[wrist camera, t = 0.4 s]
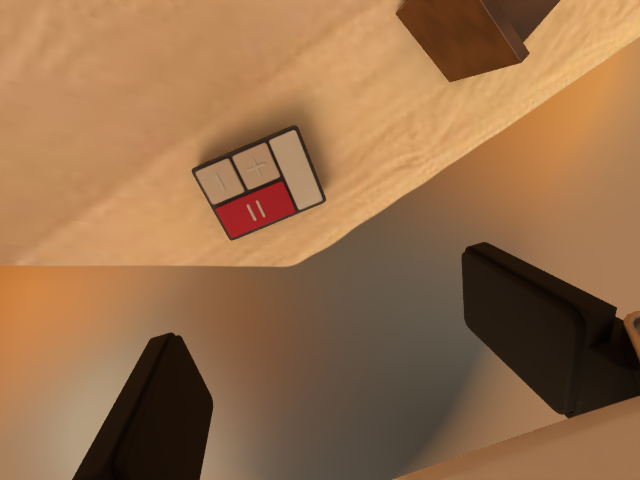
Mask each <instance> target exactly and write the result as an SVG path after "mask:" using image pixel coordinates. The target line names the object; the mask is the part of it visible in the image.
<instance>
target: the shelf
mask: <svg viewBox="0 0 640 480" xmlns="http://www.w3.org/2000/svg"><path fill="white" fill-rule="evenodd" d="M559 1H560V0H406V1H405V2H404V4H403V5H402V6H401V7H400V9H399V10H398V11H397V12H396V15H397V16H398V17H399V18H400V20H401V21H402V22H403V23H404V25H405V26H406V27H407V28H408V30H409V31H410V32H411V34H412V35H413V36H414V37H415V39H416V40H417V41H418V42H419V44H420V45H421V46H422V47H423V49H424V50H425V51H426V53H427V54H428V55H429V56H430V58H431V59H432V60H433V61H434V63H435V64H436V65H437V66H438V68H439V69H440V70H441V72H442V73H443V74H444V75H445V77H446V78H447V79H448V80H449V82H453V81H456V80H460V79H464V78H467V77H471V76H475V75H478V74H482V73H486V72H489V71H493V70H497V69H500V68H504V67H508V66H511V65H515V64H519V63H522V62H523V60H524V59H525V58H526V57H527V56H528V55H529V52H528V50H527V48H526V47H525V45H524V44H523V42H524V41H525V40H526V39H527V38H528V36H529V35H530V34H531V33H532V32H533V31H534V30H535V29H536V27H537V26H538V25H539V24H540V23H541V22H542V21H543V19H544V18H545V17H546V16H547V15H548V14H549V13H550V11H551V10H552V9H553V8H554V7H555V6H556V5H557V3H558V2H559Z"/></svg>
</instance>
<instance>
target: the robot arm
mask: <svg viewBox="0 0 640 480" xmlns="http://www.w3.org/2000/svg"><path fill="white" fill-rule="evenodd" d="M462 277H463V299H464V319H465V322H466V324H467V326H468V328H469V329H470V330H471V331H472V332H473V333H475V335H476V336H477V337H478V338H480V339H481V340H482V341H483V342H484V343H485V344H486V345H487V346H488V347H489V348H490V349H491V350H492V351H493V352H494V353H495V354H496V355H497V356H498V357H499V358H500V359H501V360H502V361H503V362H504V363H505V364H506V365H508V366H509V367H510V368H511V369H512V370H513V371H514V372H515V373H516V374H517V375H518V376H519V377H520V378H521V379H522V380H523V381H524V382H525V383H526V384H527V385H528V386H529V387H530V388H531V389H532V390H533V391H534V392H535V393H536V394H537V395H539V396H540V397H541V398H542V399H543V400H544V401H545V402H546V403H547V404H548V405H549V406H550V407H551V408H552V409H553V410H554V411H556V412H557V413H559V414H562V415H563V414H564V415H565V416H566V417H567V418H568V419H567V420H563V421H561V422H558V423H555V424H552V425H549V426H546V427H543V428H540V429H537V430H534V431H532V432H528V433H526V434H523V435H520V436H517V437H514V438H511V439H508V440H505V441H502V442H499V443H496V444H493V445H490V446H488V447H485V448H482V449H479V450H476V451H473V452H470V453H467V454H465V455H462V456H459V457H456V458H453V459H450V460H447V461H444V462H442V463H439V464H436V465H433V466H430V467H427V468H424V469H422V470H419V471H416V472H413V473H410V474H407V475H404V476H401V477H399V478H396V479H393V480H640V311H636V312H633V313H631V314H628V315H627V316H626V317H625V319H624V321H623V320H621V319H619V318H617V317H616V316H615V315H616V310H617V307H615V306H613V305H611V304H609V303H607V302H605V301H603V300H600V299H599V298H597V297H594V296H593V295H591V294H589V293H587V292H585V291H583V290H581V289H579V288H577V287H575V286H573V285H571V284H569V283H567V282H565V281H563V280H561V279H559V278H557V277H555V276H553V275H550V274H549V273H547V272H545V271H543V270H541V269H539V268H537V267H535V266H533V265H531V264H529V263H527V262H525V261H523V260H521V259H519V258H517V257H515V256H513V255H511V254H509V253H507V252H505V251H503V250H501V249H499V248H497V247H495V246H493V245H491V244H489V243H486V242H482V243H479V244H475V245H472V246H468V247H467V248H466V250H465V252H464V253H463V254H462ZM212 411H213V400H212V397H211V394H210V393H209V390H208V388H207V387H206V384H205V382H204V380H203V378H202V376H201V374H200V373H199V370H198V368H197V366H196V364H195V362H194V360H193V359H192V357H191V355H190V353H189V351H188V349H187V347H186V345H185V343H184V341H183V339H182V337H181V336H179V335H177V336H175V334H173V333H167V334H164V335H161V336H157V337H154V338H151V339H150V340H149V342H148V344H147V346H146V347H145V349H144V351H143V353H142V355H141V356H140V358H139V360H138V362H137V364H136V365H135V368H134V369H133V371H132V373H131V374H130V376H129V378H128V380H127V382H126V384H125V385H124V387H123V389H122V391H121V393H120V394H119V396H118V398H117V400H116V402H115V403H114V405H113V407H112V409H111V411H110V412H109V414H108V416H107V418H106V420H105V421H104V423H103V425H102V427H101V429H100V430H99V432H98V434H97V436H96V438H95V440H94V442H93V443H92V445H91V447H90V448H89V450H88V452H87V454H86V456H85V457H84V459H83V461H82V463H81V465H80V466H79V468H78V470H77V472H76V474H75V476H74V477H73V479H72V480H200V475H201V469H202V464H203V459H204V454H205V449H206V443H207V438H208V432H209V427H210V422H211V416H212Z"/></svg>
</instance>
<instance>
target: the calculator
mask: <svg viewBox="0 0 640 480" xmlns="http://www.w3.org/2000/svg"><path fill="white" fill-rule="evenodd" d="M192 173H193V175H194V177H195V179H196V181H197V182H198V184H199V186H200V188H201V189H202V191H203V193H204V195H205V197H206V198H207V200H208V202H209V204H210V206H211V207H212V209H213V211H214V213H215V215H216V216H217V218H218V220H219V222H220V224H221V225H222V227H223V229H224V231H225V232H226V234H227V236H228V238H229V239H230V240H235V239H238V238H240V237H242V236H245V235H247V234H250V233H252V232H255V231H257V230H259V229H262V228H264V227H267V226H269V225H271V224H274V223H276V222H279V221H281V220H283V219H286V218H288V217H291V216H293V215H295V214H298V213H300V212H303V211H305V210H307V209H310V208H312V207H315V206H317V205H320V204H322V203H324V202H325V201H326V198H325V195H324V192H323V190H322V187H321V185H320V182H319V180H318V177H317V174H316V172H315V169H314V167H313V164H312V162H311V159H310V157H309V154H308V151H307V149H306V146H305V144H304V141H303V139H302V136H301V134H300V131H299V129H298V127H297V126H291V127H289V128H286V129H284V130H282V131H279V132H277V133H274V134H272V135H270V136H267V137H265V138H263V139H260V140H258V141H256V142H253V143H251V144H249V145H246V146H244V147H241V148H239V149H237V150H234V151H232V152H230V153H227V154H225V155H223V156H220V157H218V158H216V159H213V160H211V161H208V162H206V163H204V164H201V165H199V166H197V167H195V168H193V169H192Z"/></svg>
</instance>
